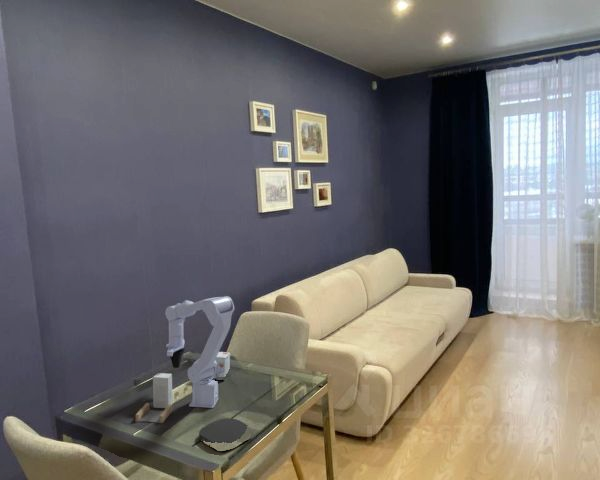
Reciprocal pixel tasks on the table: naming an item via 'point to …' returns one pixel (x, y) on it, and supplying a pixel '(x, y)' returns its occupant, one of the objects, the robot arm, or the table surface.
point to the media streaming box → (223, 431)
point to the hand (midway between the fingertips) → (176, 367)
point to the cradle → (152, 414)
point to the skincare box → (162, 390)
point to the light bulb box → (222, 364)
